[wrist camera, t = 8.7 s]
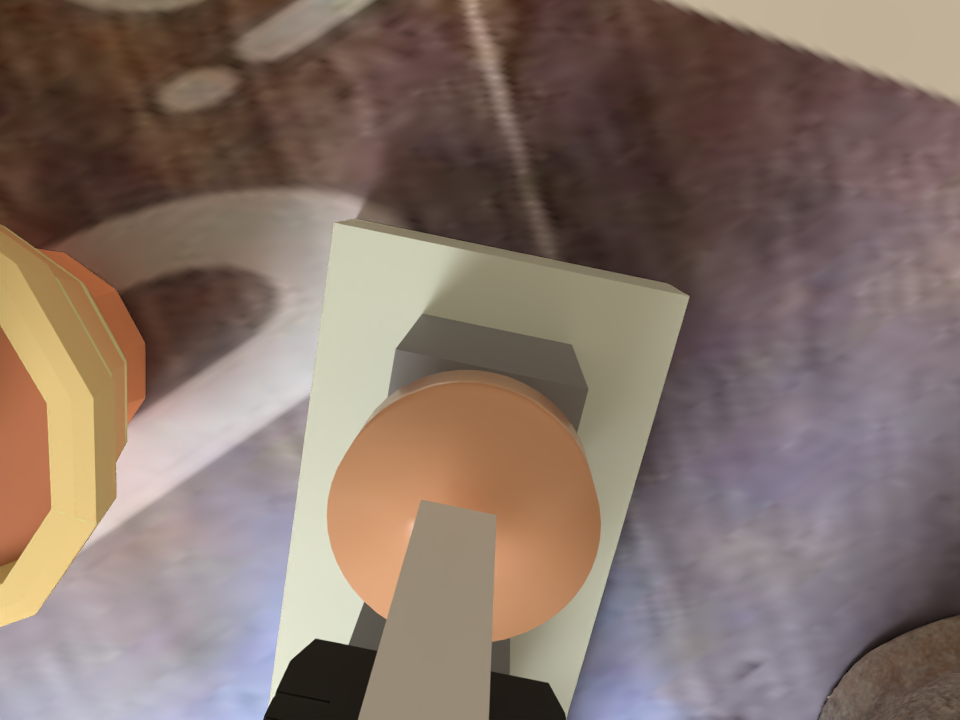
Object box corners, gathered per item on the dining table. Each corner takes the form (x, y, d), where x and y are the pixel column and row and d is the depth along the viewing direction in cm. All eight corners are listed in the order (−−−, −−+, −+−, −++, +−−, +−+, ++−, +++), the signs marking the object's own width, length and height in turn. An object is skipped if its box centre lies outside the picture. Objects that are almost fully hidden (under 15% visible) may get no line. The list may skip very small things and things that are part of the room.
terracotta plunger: (375, 480, 21) (310, 614, 15) (404, 308, 20) (346, 369, 13) (548, 516, 21) (564, 667, 15) (592, 347, 20) (632, 428, 13)
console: (269, 819, 32) (190, 1022, 24) (356, 218, 24) (279, 232, 16) (503, 867, 32) (500, 1085, 24) (668, 283, 24) (742, 328, 16)
